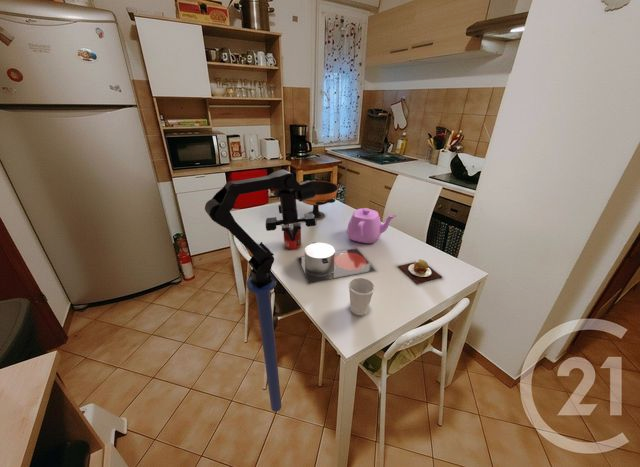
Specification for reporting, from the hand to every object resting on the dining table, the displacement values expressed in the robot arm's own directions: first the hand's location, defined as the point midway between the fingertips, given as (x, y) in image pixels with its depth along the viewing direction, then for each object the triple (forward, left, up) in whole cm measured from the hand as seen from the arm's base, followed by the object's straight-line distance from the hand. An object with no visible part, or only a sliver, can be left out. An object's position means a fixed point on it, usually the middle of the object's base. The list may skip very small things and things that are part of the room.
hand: (293, 240), depth 104 cm
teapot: (+42, -8, -12) cm, 44 cm away
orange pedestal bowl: (+44, +28, -12) cm, 53 cm away
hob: (+12, -12, -12) cm, 21 cm away
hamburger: (+32, -41, -12) cm, 53 cm away
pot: (+6, -9, -12) cm, 16 cm away
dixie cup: (-2, -35, -12) cm, 37 cm away
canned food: (+11, +12, -12) cm, 20 cm away
